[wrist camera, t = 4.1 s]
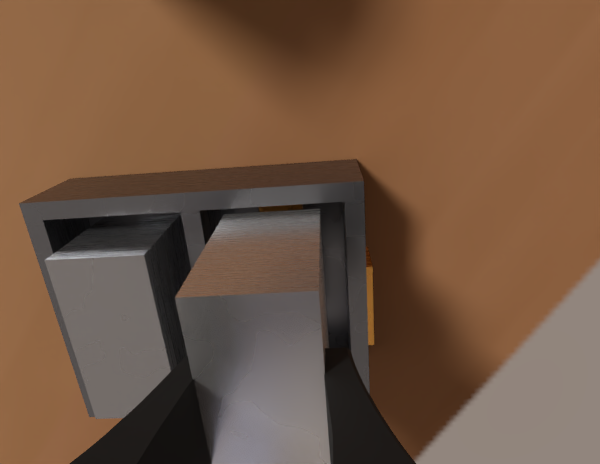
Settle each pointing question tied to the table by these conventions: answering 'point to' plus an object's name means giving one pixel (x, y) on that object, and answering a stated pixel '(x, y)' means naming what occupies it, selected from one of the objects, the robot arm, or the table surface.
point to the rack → (180, 263)
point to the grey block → (260, 338)
